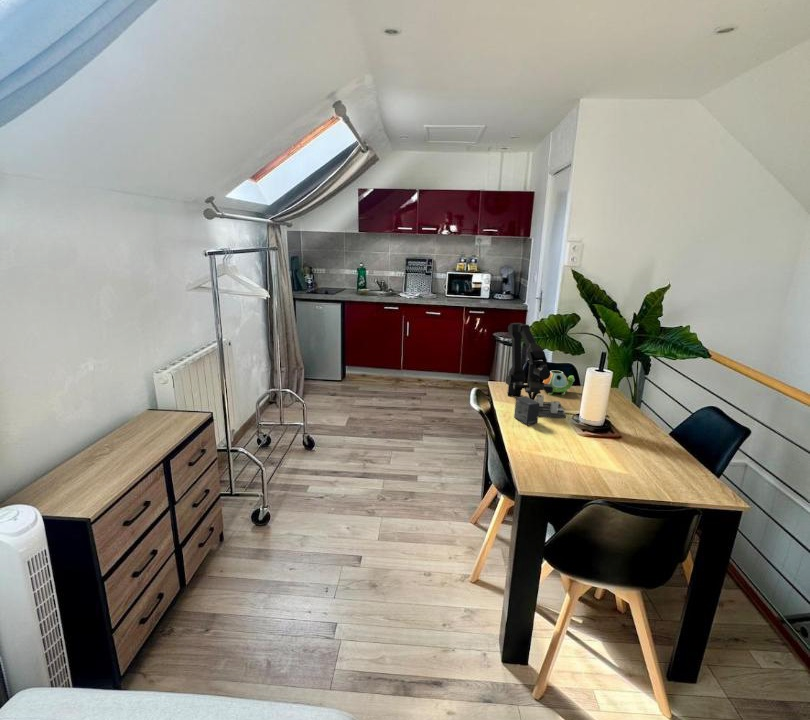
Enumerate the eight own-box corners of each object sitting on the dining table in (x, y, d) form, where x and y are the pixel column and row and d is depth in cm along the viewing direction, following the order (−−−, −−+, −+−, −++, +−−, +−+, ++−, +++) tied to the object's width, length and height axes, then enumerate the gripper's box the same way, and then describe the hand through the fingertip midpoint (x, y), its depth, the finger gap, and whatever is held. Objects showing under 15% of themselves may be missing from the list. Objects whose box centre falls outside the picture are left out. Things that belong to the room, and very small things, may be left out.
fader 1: (536, 406, 231) (537, 396, 230) (535, 404, 234) (536, 394, 233) (542, 406, 231) (543, 396, 229) (542, 404, 234) (543, 394, 232)
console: (533, 416, 223) (534, 411, 222) (529, 403, 240) (530, 399, 239) (566, 418, 221) (566, 414, 220) (559, 405, 238) (560, 401, 237)
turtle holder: (578, 395, 254) (581, 374, 251) (547, 396, 252) (549, 375, 249) (568, 388, 266) (570, 368, 263) (538, 388, 264) (540, 368, 261)
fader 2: (551, 413, 222) (552, 403, 221) (550, 410, 225) (551, 400, 224) (557, 413, 222) (558, 403, 220) (556, 411, 225) (557, 401, 223)
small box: (538, 424, 213) (540, 402, 211) (526, 426, 211) (528, 404, 208) (524, 416, 223) (526, 395, 220) (513, 417, 220) (515, 397, 218)
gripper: (516, 377, 222) (513, 407, 226) (556, 379, 220) (552, 410, 224) (514, 370, 233) (512, 399, 237) (552, 373, 230) (549, 402, 234)
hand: (531, 403), depth 233 cm, fingers closed
